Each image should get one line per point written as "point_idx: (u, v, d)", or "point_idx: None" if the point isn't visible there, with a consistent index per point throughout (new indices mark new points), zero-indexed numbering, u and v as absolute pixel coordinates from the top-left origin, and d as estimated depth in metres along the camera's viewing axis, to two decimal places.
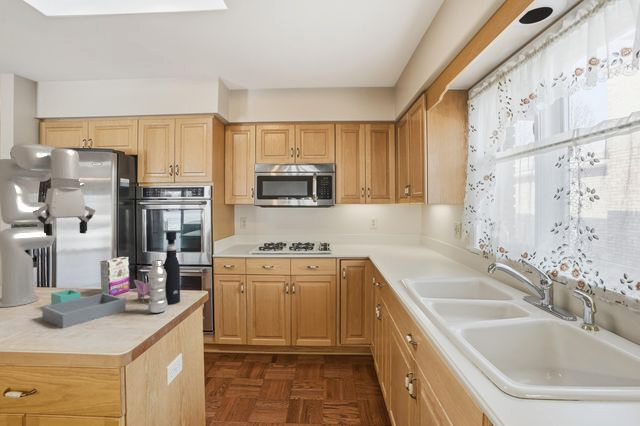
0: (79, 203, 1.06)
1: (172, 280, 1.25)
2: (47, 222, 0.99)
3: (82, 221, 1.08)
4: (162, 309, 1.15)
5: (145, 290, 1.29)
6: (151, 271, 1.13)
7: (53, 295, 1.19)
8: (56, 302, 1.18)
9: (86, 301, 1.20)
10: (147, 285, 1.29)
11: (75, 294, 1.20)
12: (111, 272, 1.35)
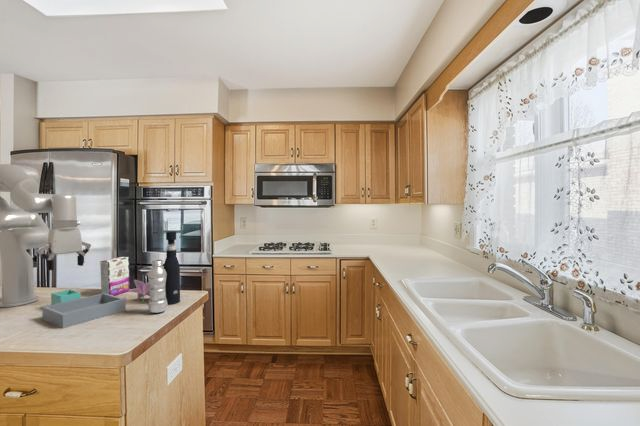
0: (77, 240, 1.22)
1: (172, 280, 1.25)
2: (49, 259, 1.15)
3: (79, 255, 1.24)
4: (162, 309, 1.15)
5: (145, 290, 1.29)
6: (151, 271, 1.13)
7: (53, 295, 1.19)
8: (56, 302, 1.18)
9: (86, 301, 1.20)
10: (147, 285, 1.29)
11: (75, 294, 1.20)
12: (111, 272, 1.35)
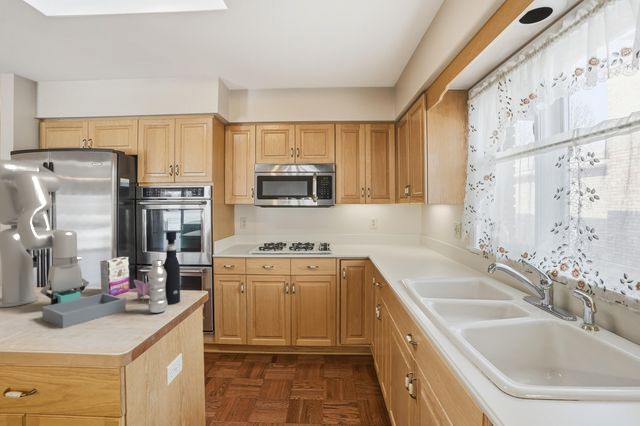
0: (77, 276, 1.22)
1: (172, 280, 1.25)
2: (54, 298, 1.17)
3: None
4: (162, 309, 1.15)
5: (145, 290, 1.29)
6: (151, 271, 1.13)
7: None
8: None
9: (86, 301, 1.20)
10: (147, 285, 1.29)
11: (75, 294, 1.20)
12: (111, 272, 1.35)
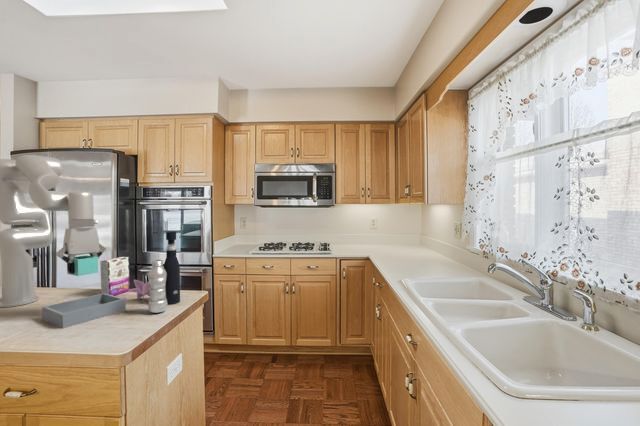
0: (94, 240, 1.15)
1: (172, 280, 1.25)
2: (70, 261, 1.10)
3: None
4: (162, 309, 1.15)
5: (144, 290, 1.29)
6: (151, 271, 1.13)
7: None
8: None
9: (86, 301, 1.20)
10: (146, 285, 1.29)
11: (92, 258, 1.13)
12: (111, 272, 1.35)
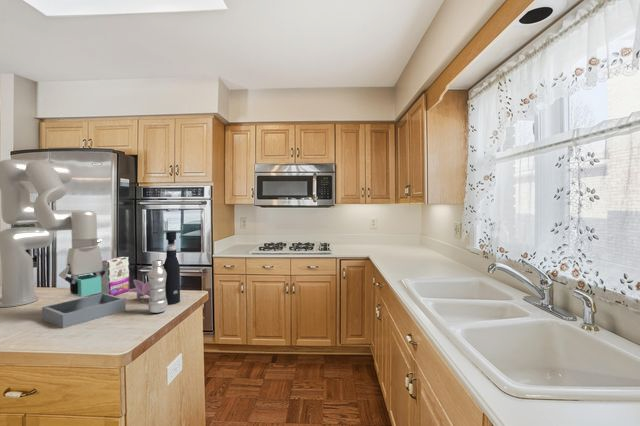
0: (97, 259, 1.14)
1: (172, 280, 1.25)
2: (73, 282, 1.09)
3: None
4: (162, 309, 1.15)
5: (144, 290, 1.29)
6: (151, 271, 1.13)
7: None
8: None
9: (86, 301, 1.20)
10: (146, 285, 1.29)
11: (96, 278, 1.12)
12: (111, 272, 1.35)
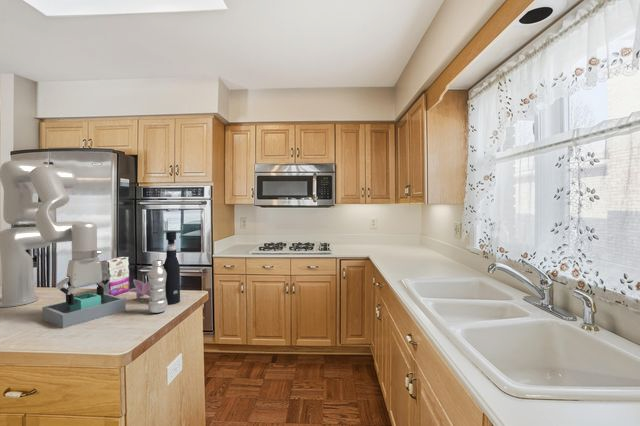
0: (97, 271, 1.14)
1: (172, 280, 1.25)
2: (69, 293, 1.08)
3: (99, 286, 1.17)
4: (162, 309, 1.15)
5: (144, 290, 1.29)
6: (151, 271, 1.13)
7: None
8: (75, 306, 1.10)
9: None
10: (146, 285, 1.29)
11: (95, 298, 1.12)
12: (111, 272, 1.35)
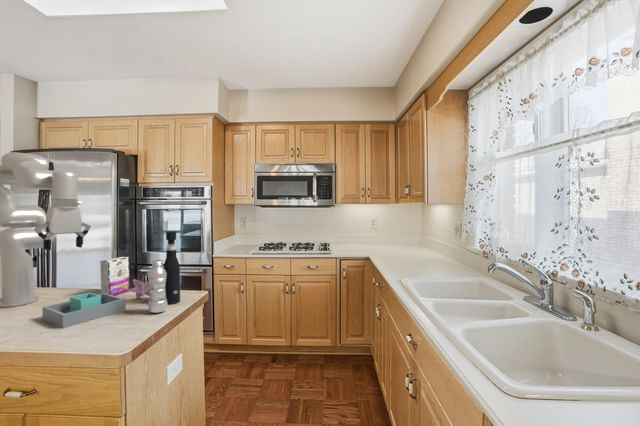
0: (76, 220, 1.16)
1: (172, 280, 1.25)
2: (47, 238, 1.09)
3: (78, 236, 1.19)
4: (162, 309, 1.15)
5: (144, 289, 1.30)
6: (151, 271, 1.13)
7: (72, 298, 1.11)
8: (75, 306, 1.10)
9: None
10: (146, 284, 1.30)
11: (95, 298, 1.12)
12: (111, 272, 1.35)
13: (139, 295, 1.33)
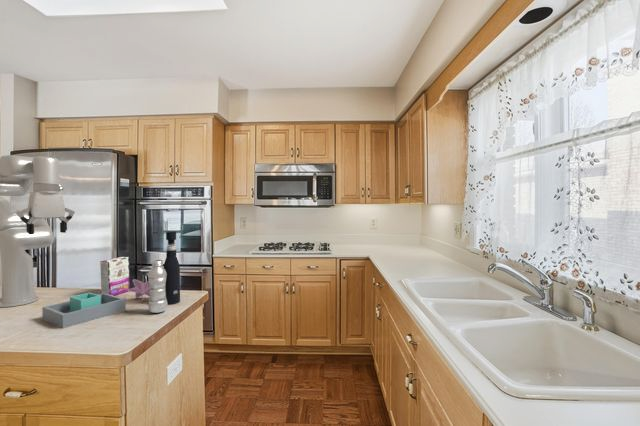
0: (59, 205, 1.18)
1: (172, 280, 1.25)
2: (29, 222, 1.11)
3: (62, 221, 1.20)
4: (162, 309, 1.15)
5: (143, 289, 1.30)
6: (151, 271, 1.13)
7: (72, 298, 1.11)
8: (75, 306, 1.10)
9: None
10: (145, 284, 1.30)
11: (95, 298, 1.12)
12: (111, 272, 1.35)
13: (139, 295, 1.33)
